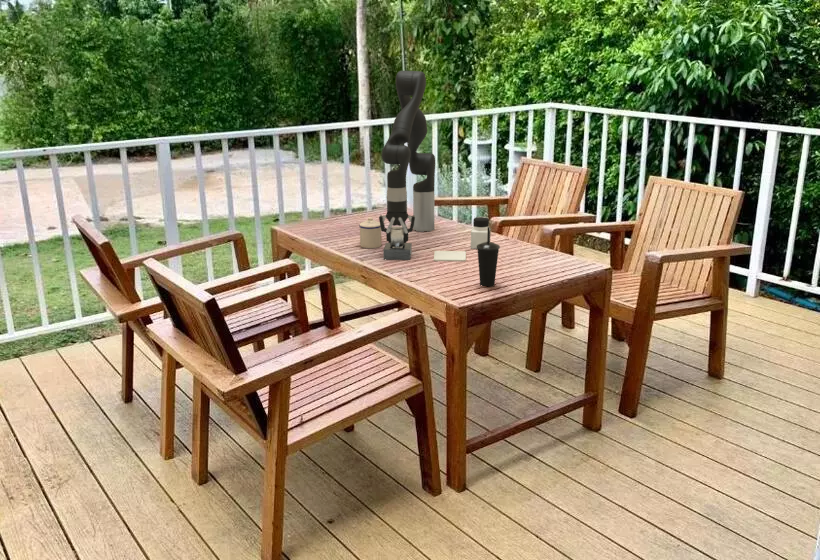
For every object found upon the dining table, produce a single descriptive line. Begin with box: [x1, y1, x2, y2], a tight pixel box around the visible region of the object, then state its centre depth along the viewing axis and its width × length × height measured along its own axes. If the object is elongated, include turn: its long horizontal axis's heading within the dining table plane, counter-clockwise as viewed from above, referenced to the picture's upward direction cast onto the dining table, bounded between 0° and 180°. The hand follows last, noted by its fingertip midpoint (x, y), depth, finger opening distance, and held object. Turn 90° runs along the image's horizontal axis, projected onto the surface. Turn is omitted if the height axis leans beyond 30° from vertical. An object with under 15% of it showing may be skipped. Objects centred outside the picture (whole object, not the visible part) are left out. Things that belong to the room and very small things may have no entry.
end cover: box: [390, 226, 405, 248], centre depth 282 cm, size 6×6×11 cm
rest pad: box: [433, 250, 467, 262], centre depth 282 cm, size 12×12×1 cm
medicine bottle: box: [470, 216, 492, 250], centre depth 294 cm, size 7×7×12 cm
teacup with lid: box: [358, 216, 383, 249], centre depth 298 cm, size 12×9×12 cm
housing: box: [382, 242, 413, 261], centre depth 283 cm, size 10×10×4 cm
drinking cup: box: [476, 226, 501, 287], centre depth 246 cm, size 8×8×20 cm
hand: (397, 242), depth 282 cm, fingers closed on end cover, 5 cm apart
